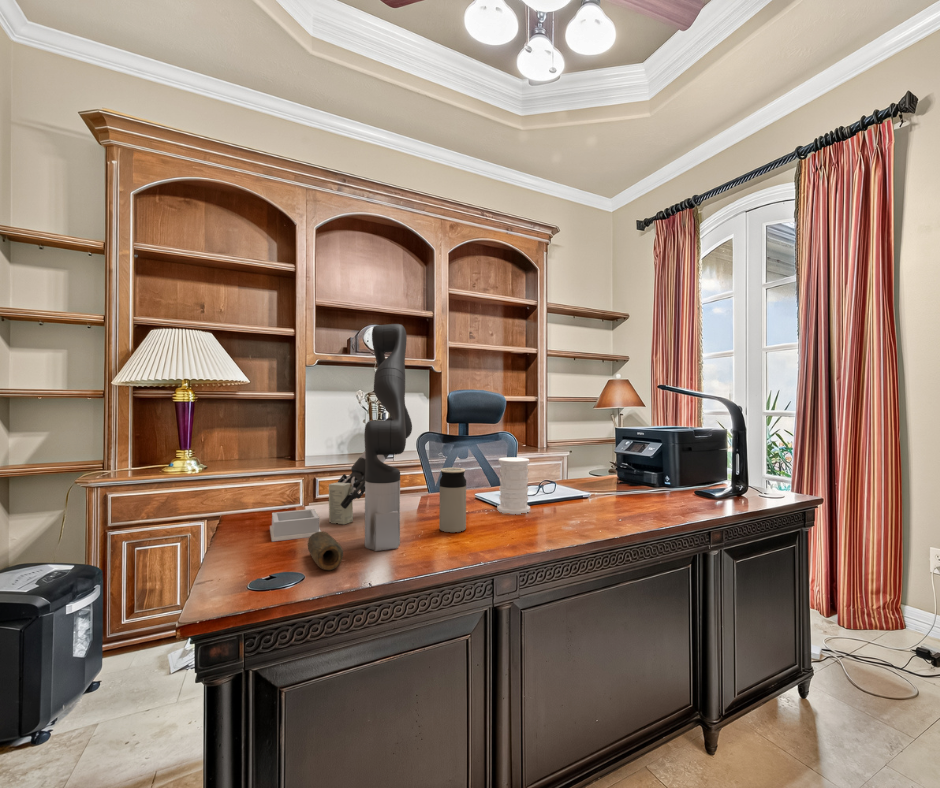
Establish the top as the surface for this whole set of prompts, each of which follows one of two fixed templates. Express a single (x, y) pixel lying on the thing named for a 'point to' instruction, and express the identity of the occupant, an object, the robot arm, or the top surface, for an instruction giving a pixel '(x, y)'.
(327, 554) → the brown hollow cylinder
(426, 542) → the top surface
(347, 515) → the skincare box
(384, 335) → the robot arm
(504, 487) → the decorative container
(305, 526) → the bottle stand
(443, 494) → the travel mug
